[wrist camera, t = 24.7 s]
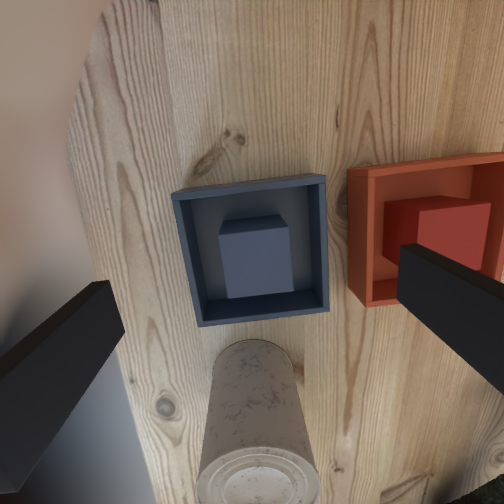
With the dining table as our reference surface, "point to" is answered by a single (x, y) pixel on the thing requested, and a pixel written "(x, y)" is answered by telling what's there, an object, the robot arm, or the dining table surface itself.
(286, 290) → the blue block
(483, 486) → the flower vase
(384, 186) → the red bin
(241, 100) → the dining table surface
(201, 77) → the dining table surface
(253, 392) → the grey tin can
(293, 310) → the blue bin
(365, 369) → the dining table surface
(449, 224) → the red block
